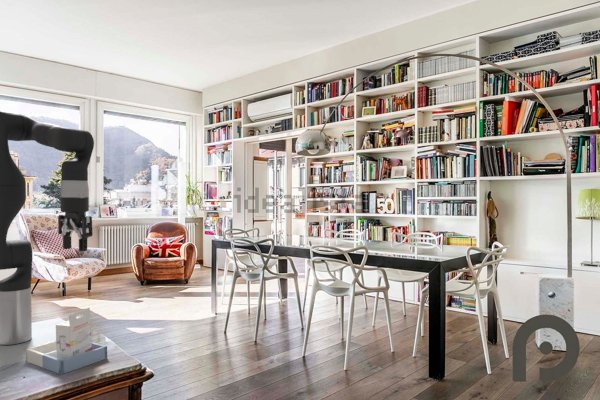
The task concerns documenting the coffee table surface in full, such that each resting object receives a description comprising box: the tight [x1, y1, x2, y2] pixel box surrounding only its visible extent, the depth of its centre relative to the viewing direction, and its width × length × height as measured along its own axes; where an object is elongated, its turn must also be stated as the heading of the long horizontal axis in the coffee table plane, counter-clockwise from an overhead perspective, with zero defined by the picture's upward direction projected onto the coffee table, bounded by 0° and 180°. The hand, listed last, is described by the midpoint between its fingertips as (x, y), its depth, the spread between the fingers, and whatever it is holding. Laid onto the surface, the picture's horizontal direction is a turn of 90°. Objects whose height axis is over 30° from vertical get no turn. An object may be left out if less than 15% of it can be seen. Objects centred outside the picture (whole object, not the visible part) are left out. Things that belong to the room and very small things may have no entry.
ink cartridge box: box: [55, 307, 93, 360], centre depth 124 cm, size 9×5×15 cm, turn 166°
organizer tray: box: [25, 340, 108, 375], centre depth 126 cm, size 18×14×4 cm
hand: (75, 250), depth 130 cm, fingers open, 8 cm apart
